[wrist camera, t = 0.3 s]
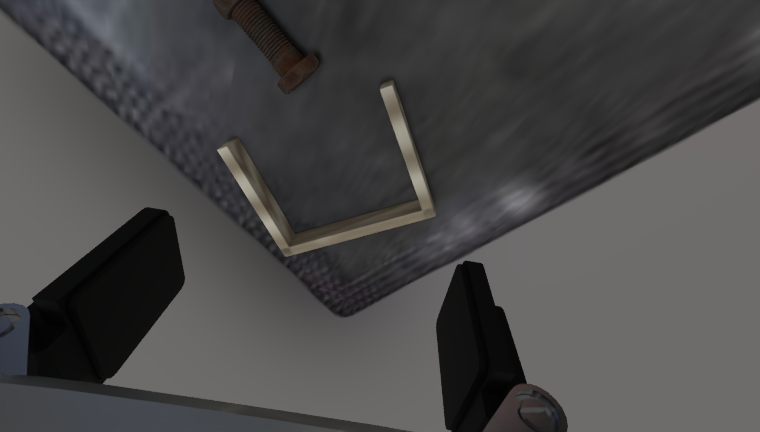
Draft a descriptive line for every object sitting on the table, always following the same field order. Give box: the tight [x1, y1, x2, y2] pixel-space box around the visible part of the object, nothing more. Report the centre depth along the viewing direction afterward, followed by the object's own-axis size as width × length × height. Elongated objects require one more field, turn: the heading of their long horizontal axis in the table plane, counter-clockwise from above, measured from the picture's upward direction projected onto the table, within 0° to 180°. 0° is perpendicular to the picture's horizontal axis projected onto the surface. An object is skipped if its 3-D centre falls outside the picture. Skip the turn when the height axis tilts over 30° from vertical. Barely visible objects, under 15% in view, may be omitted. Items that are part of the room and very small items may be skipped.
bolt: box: [213, 0, 319, 94], centre depth 38 cm, size 6×5×15 cm
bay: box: [217, 79, 436, 257], centre depth 48 cm, size 18×24×4 cm
